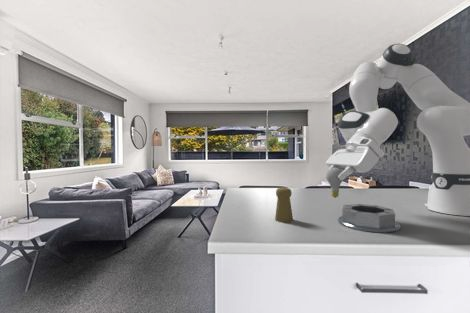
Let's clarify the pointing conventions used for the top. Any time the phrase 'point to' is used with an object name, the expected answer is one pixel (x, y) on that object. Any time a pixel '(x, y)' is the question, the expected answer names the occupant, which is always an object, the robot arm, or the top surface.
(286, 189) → the cork
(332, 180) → the light bulb
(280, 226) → the top surface
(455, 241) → the top surface
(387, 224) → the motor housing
